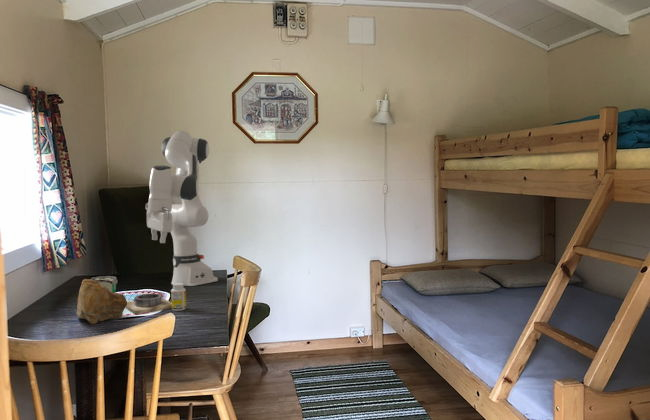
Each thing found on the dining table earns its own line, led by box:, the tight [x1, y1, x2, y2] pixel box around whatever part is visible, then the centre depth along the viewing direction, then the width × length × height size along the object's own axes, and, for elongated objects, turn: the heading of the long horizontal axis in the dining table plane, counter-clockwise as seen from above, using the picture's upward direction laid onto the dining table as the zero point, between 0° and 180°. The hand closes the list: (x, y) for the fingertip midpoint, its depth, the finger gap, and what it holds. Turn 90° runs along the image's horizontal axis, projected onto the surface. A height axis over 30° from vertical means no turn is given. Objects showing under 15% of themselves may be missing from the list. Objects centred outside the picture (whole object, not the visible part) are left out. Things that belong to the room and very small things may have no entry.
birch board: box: [125, 297, 172, 315], centre depth 205 cm, size 16×16×1 cm
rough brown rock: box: [76, 278, 128, 325], centre depth 188 cm, size 23×17×15 cm
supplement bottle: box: [170, 283, 187, 312], centre depth 200 cm, size 6×6×10 cm
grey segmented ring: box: [133, 293, 163, 307], centre depth 205 cm, size 10×10×3 cm
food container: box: [90, 275, 118, 293], centre depth 216 cm, size 12×6×10 cm, turn 71°
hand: (158, 241), depth 200 cm, fingers open, 8 cm apart
